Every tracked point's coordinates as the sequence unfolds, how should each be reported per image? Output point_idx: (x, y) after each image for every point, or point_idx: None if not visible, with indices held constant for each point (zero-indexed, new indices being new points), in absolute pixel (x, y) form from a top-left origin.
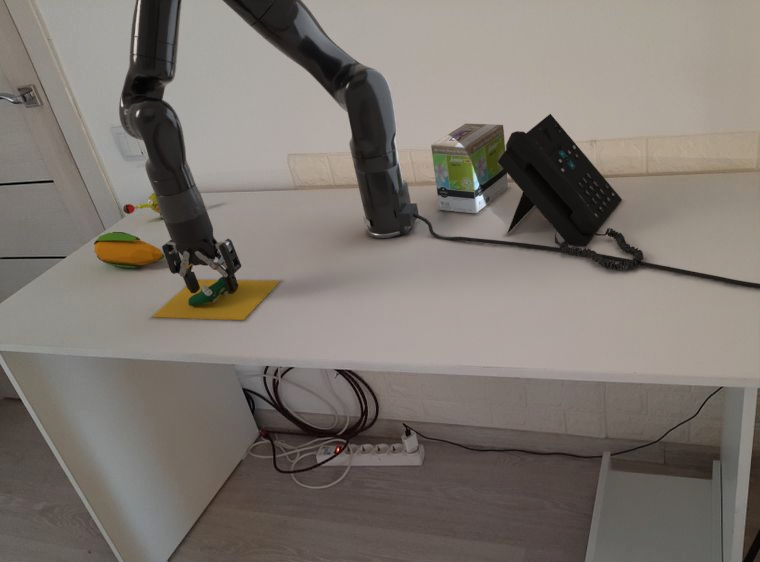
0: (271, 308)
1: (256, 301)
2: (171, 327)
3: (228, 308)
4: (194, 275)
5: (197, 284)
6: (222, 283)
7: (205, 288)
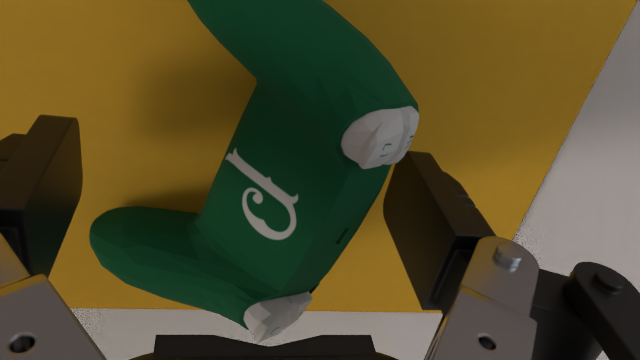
0: (592, 227)
1: (522, 187)
2: (114, 356)
3: (374, 242)
4: (36, 194)
5: (66, 149)
6: (356, 218)
7: (277, 329)
